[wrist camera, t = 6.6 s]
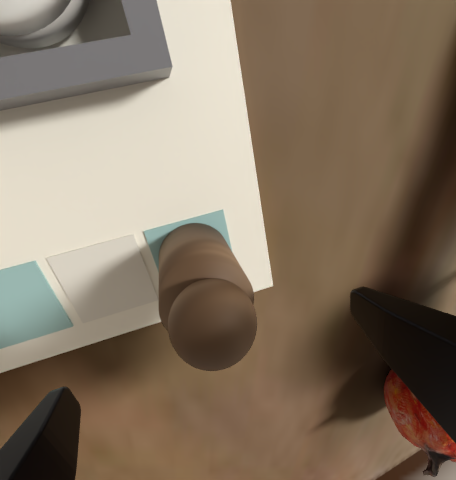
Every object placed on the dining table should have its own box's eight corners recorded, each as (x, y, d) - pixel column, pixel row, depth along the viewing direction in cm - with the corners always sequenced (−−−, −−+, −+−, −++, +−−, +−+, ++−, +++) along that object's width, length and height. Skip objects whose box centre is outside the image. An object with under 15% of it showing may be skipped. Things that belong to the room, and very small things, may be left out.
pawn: (222, 215, 14) (274, 288, 8) (232, 276, 15) (283, 379, 9) (150, 232, 13) (142, 324, 7) (168, 293, 15) (174, 414, 8)
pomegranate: (399, 309, 24) (370, 418, 19) (516, 339, 20) (524, 495, 14) (396, 356, 28) (370, 457, 23) (492, 389, 24) (491, 526, 18)
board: (193, -211, 9) (196, -233, 8) (270, 281, 17) (273, 286, 16) (-772, -159, 6) (-866, -187, 5) (-112, 402, 14) (-123, 413, 13)
